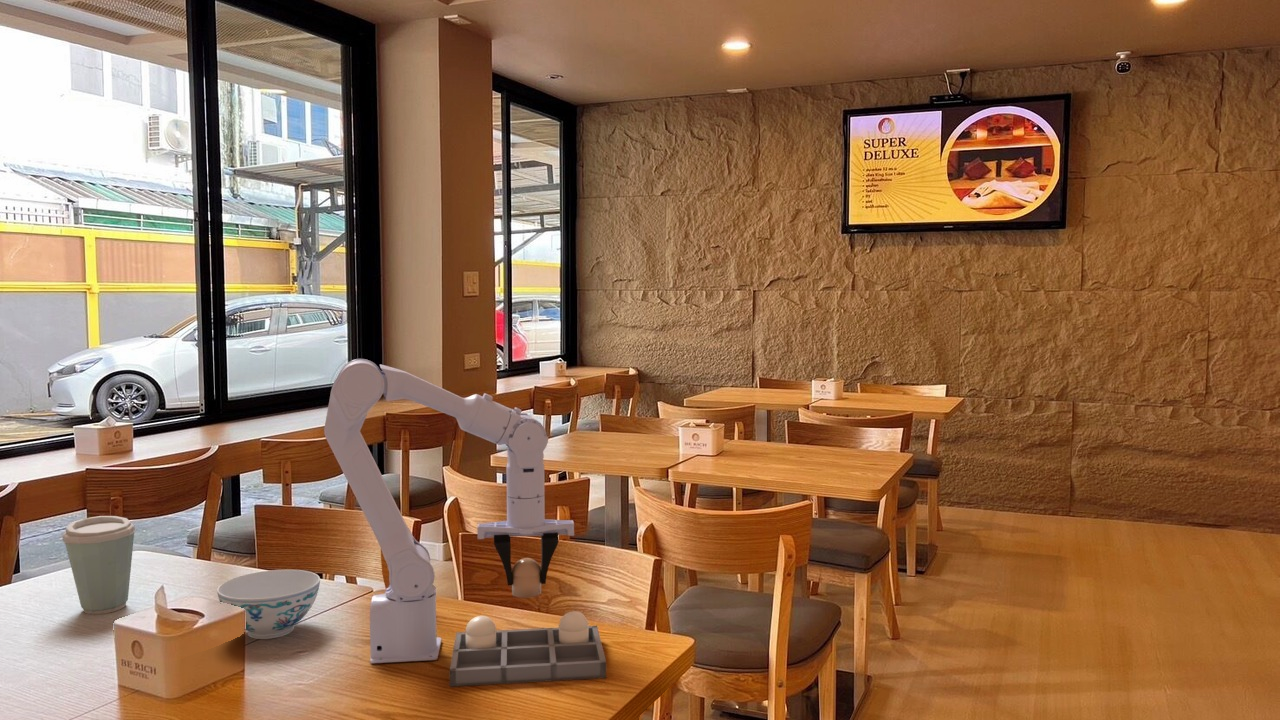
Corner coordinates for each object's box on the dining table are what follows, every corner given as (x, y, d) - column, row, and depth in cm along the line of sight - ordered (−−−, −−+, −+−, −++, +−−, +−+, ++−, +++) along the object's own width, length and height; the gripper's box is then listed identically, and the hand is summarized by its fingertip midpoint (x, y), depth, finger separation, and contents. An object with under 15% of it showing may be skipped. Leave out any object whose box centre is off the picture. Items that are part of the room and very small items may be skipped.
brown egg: (512, 598, 139) (511, 563, 139) (512, 589, 144) (511, 555, 143) (541, 597, 140) (541, 561, 139) (540, 588, 144) (540, 553, 144)
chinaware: (308, 609, 156) (307, 564, 156) (332, 636, 144) (331, 587, 143) (211, 626, 148) (209, 579, 148) (228, 657, 136) (226, 605, 135)
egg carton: (449, 686, 125) (449, 644, 125) (456, 646, 139) (455, 609, 139) (606, 677, 128) (606, 636, 127) (597, 639, 142) (596, 602, 142)
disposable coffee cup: (151, 605, 158) (148, 519, 157) (86, 624, 149) (82, 532, 148) (118, 595, 164) (114, 511, 163) (53, 612, 155) (48, 524, 154)
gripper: (476, 502, 136) (477, 593, 137) (575, 498, 138) (575, 588, 139) (477, 492, 143) (478, 578, 143) (571, 489, 145) (572, 574, 146)
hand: (526, 582), depth 142 cm, fingers closed on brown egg, 4 cm apart
